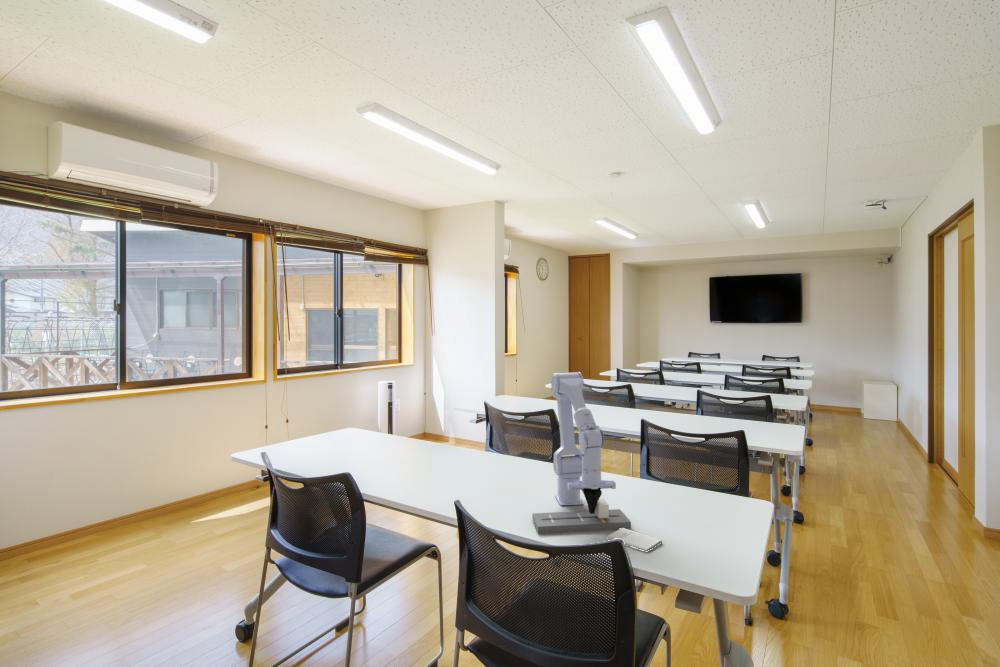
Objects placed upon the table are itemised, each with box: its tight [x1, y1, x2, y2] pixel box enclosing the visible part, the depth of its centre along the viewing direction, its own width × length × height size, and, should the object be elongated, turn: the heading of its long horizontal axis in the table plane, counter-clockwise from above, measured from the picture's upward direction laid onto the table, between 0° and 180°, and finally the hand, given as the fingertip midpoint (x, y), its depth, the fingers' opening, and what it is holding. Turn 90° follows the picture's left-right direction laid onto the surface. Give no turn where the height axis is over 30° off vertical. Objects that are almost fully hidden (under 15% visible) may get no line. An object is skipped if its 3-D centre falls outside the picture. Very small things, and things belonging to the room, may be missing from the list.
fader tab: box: [595, 498, 610, 518], centre depth 156 cm, size 5×3×4 cm, turn 5°
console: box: [531, 508, 632, 534], centre depth 156 cm, size 10×28×2 cm, turn 95°
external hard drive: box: [607, 528, 663, 551], centre depth 144 cm, size 2×8×12 cm
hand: (591, 512), depth 156 cm, fingers closed
